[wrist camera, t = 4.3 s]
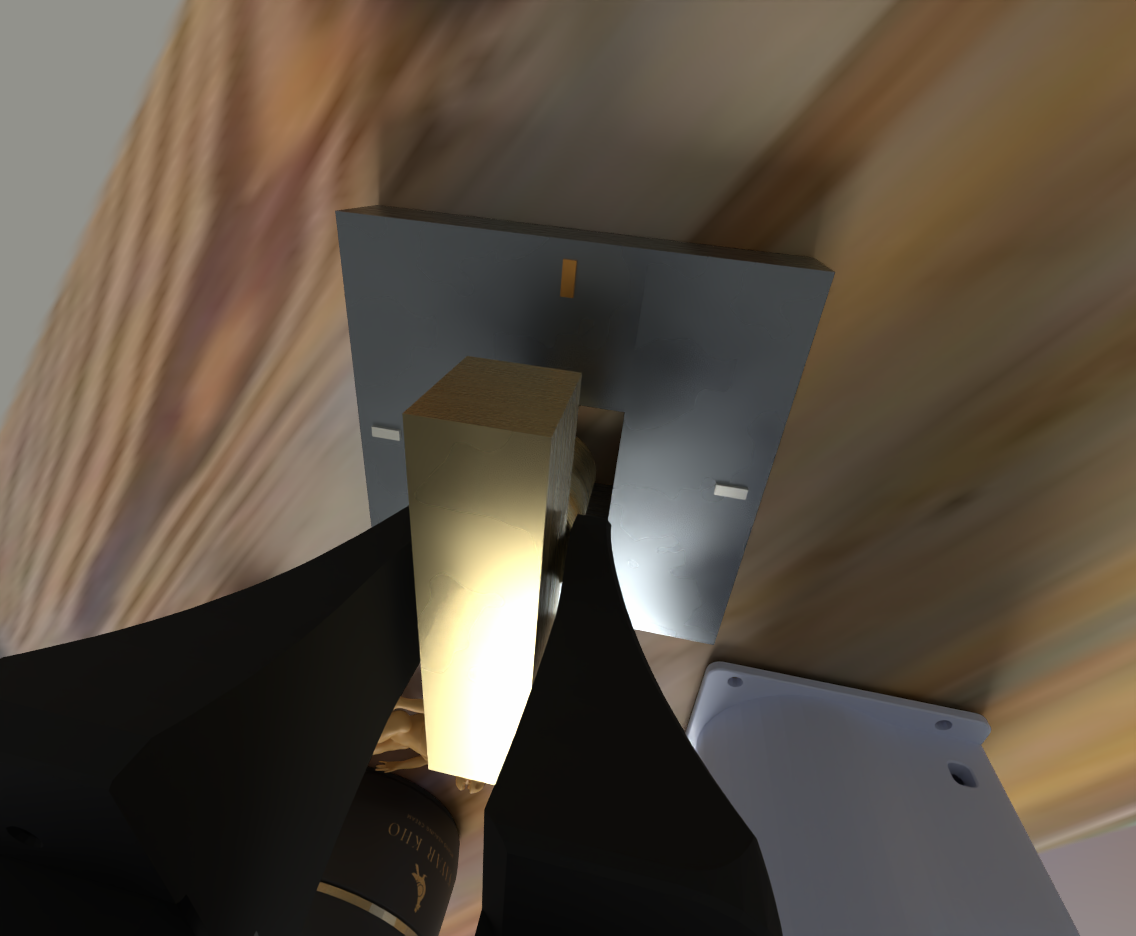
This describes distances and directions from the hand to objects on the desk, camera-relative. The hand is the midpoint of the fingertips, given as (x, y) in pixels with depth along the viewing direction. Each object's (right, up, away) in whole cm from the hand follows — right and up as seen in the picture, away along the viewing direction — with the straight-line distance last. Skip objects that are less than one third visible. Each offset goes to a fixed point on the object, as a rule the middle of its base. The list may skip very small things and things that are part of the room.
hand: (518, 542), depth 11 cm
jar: (-9, -17, +19) cm, 27 cm away
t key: (+1, +2, +3) cm, 3 cm away
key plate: (+1, +3, +5) cm, 6 cm away
